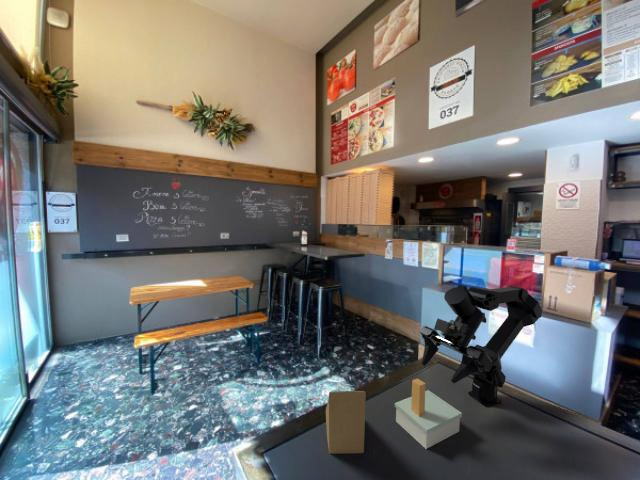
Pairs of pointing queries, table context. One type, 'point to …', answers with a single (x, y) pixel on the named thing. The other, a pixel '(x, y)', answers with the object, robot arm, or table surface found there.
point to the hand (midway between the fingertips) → (436, 373)
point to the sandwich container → (345, 421)
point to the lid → (427, 408)
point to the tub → (431, 437)
